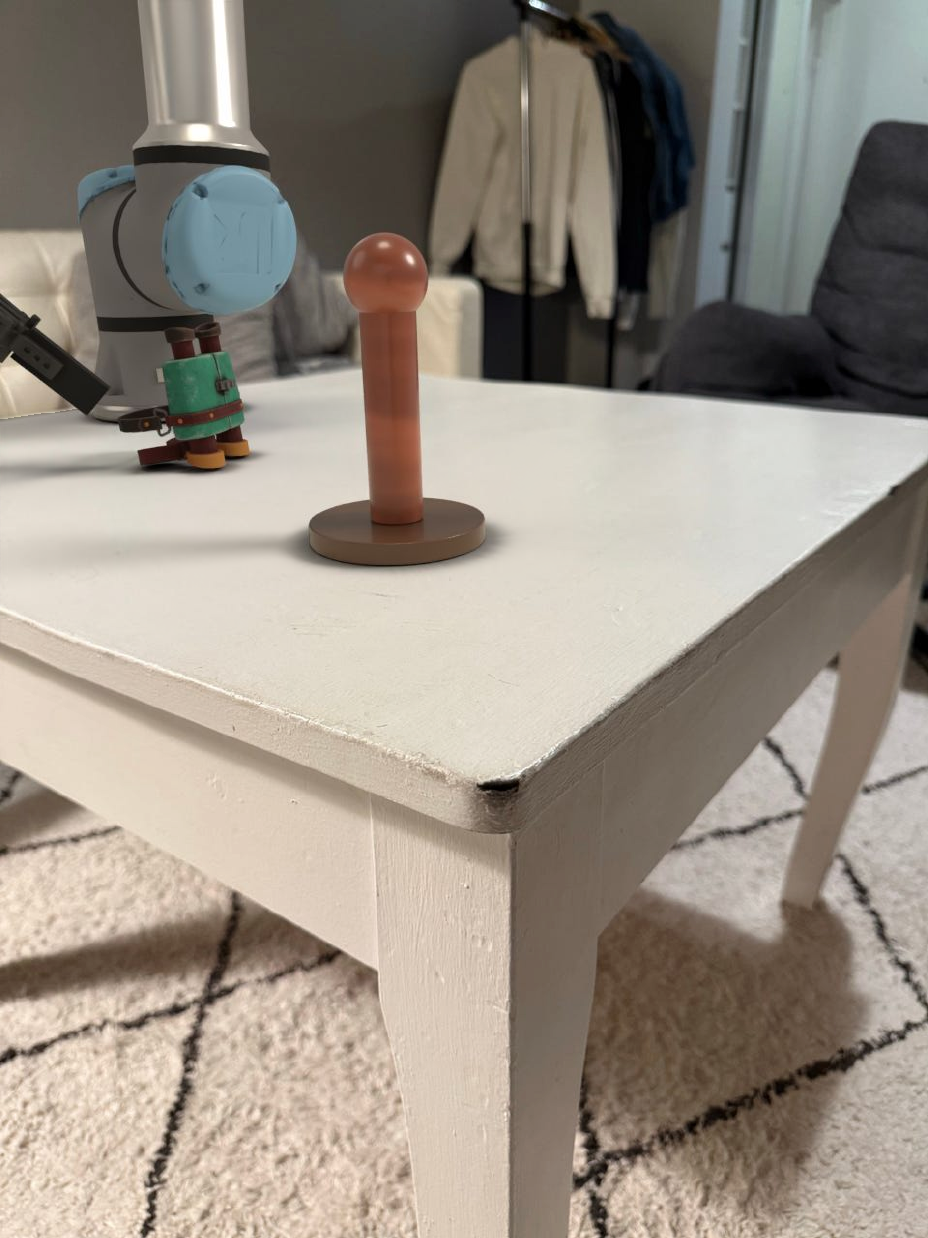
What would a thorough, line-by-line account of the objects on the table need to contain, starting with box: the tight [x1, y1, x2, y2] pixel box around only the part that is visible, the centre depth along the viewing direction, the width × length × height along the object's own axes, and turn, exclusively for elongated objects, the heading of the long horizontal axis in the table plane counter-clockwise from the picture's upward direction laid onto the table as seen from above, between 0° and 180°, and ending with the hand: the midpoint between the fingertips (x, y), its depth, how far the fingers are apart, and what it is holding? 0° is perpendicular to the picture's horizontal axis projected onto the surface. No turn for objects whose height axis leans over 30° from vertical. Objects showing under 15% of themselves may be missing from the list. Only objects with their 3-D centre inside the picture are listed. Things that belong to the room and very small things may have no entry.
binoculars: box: [117, 321, 251, 469], centre depth 72 cm, size 9×11×10 cm
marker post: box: [308, 231, 486, 566], centre depth 49 cm, size 10×10×16 cm
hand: (98, 401), depth 71 cm, fingers closed
